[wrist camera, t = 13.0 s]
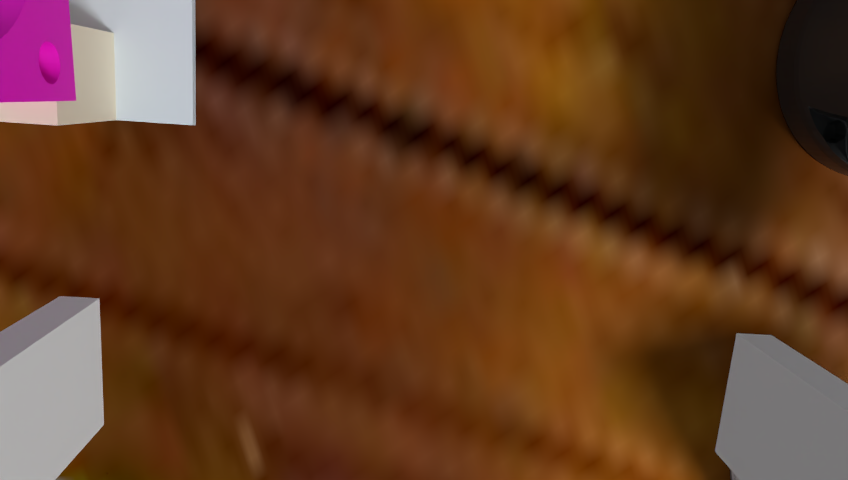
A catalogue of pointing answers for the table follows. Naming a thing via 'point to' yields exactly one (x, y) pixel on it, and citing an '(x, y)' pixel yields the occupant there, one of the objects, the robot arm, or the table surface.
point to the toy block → (36, 51)
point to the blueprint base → (124, 65)
